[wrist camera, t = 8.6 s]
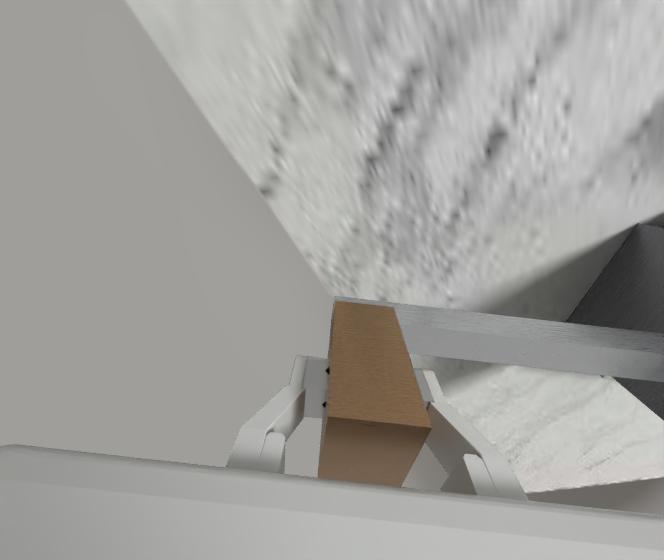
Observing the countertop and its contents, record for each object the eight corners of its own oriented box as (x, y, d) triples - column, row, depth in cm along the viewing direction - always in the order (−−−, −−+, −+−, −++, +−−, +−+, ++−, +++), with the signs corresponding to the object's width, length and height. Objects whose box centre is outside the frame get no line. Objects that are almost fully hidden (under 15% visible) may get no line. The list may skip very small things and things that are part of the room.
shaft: (329, 334, 16) (317, 481, 9) (336, 281, 14) (327, 416, 7) (714, 377, 16) (1009, 557, 9) (773, 332, 14) (1208, 513, 7)
